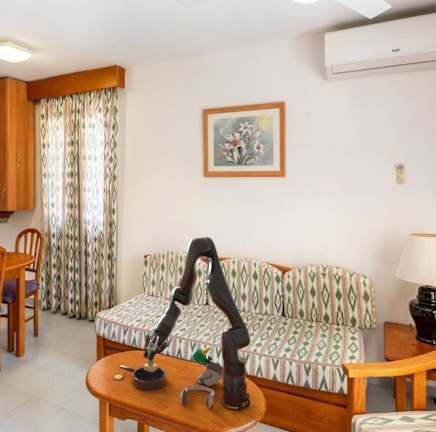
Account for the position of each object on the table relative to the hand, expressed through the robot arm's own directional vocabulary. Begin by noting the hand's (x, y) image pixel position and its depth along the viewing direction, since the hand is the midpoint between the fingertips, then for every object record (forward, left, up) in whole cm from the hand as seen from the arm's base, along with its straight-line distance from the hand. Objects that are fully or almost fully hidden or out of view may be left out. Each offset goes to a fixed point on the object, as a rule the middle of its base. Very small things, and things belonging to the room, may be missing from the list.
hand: (147, 358), depth 178 cm
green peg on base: (0, -2, -7) cm, 7 cm away
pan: (0, -2, -13) cm, 13 cm away
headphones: (-25, -1, -13) cm, 28 cm away
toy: (-25, -17, -13) cm, 33 cm away
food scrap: (+15, +2, -12) cm, 20 cm away
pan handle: (+13, -2, -10) cm, 17 cm away
